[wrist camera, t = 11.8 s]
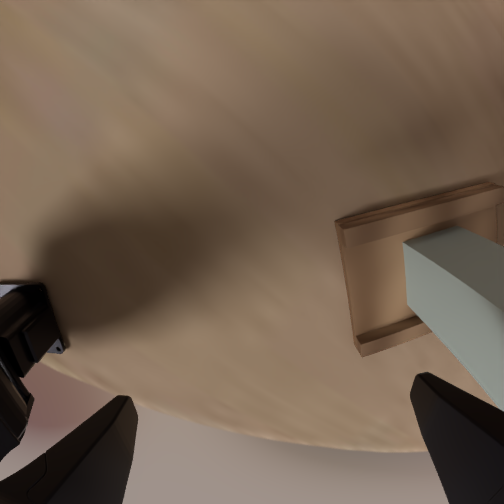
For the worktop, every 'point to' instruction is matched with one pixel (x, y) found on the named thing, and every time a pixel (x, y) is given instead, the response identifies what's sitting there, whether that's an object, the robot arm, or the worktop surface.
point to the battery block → (461, 299)
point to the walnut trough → (402, 258)
